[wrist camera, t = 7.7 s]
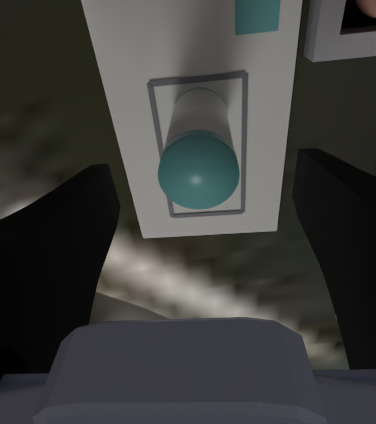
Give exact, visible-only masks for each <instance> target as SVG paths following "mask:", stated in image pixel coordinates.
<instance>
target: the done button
mask: <svg viewBox="0 0 376 424" xmlns="http://www.w3.org/2000/svg"><path fill="white" fill-rule="evenodd" d="M355 2H356V4H357V6H358V8H359V9H360V10H361V11H362V12H363V13H364V14H365V15H367V16H369V17H373V18H376V0H355Z"/></svg>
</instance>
